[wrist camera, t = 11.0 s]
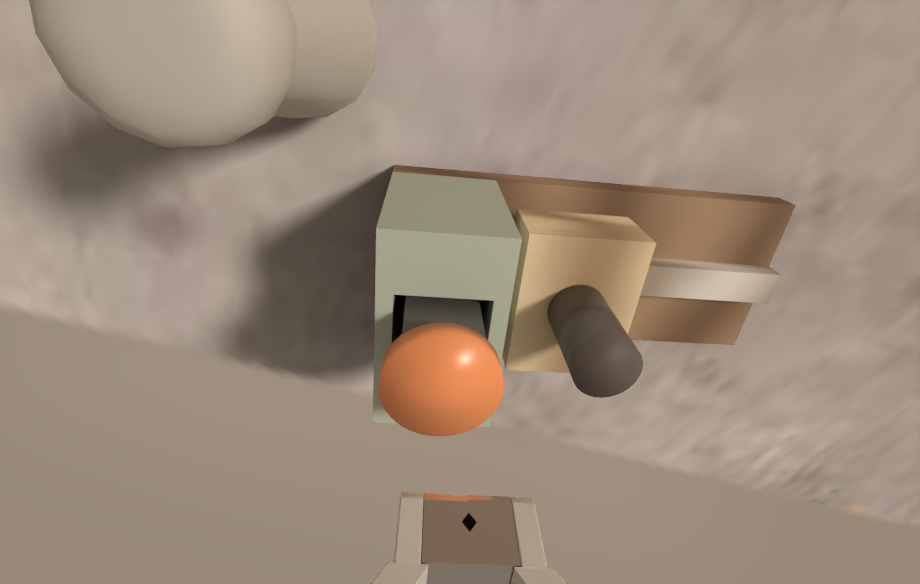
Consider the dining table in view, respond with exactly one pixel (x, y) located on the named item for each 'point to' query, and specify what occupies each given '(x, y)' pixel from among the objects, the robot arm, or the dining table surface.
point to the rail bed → (673, 248)
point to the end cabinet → (442, 256)
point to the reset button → (441, 368)
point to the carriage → (578, 298)
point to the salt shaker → (208, 61)
